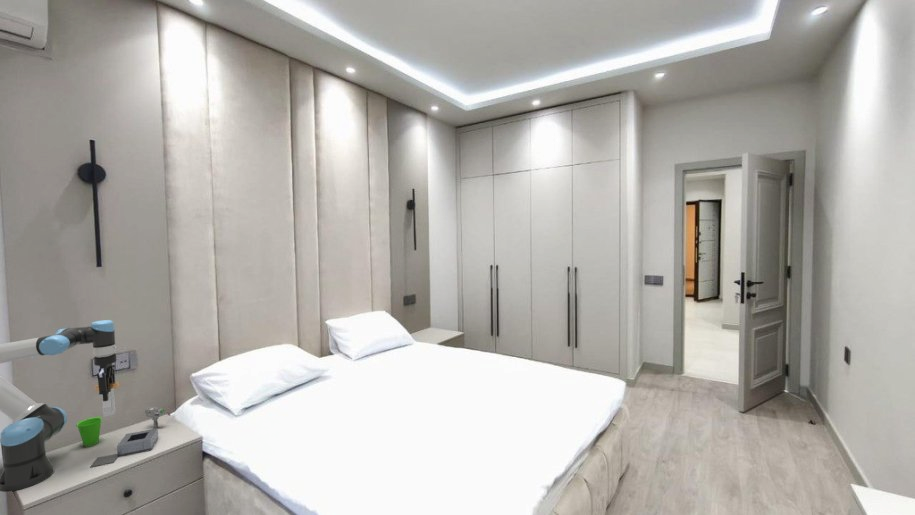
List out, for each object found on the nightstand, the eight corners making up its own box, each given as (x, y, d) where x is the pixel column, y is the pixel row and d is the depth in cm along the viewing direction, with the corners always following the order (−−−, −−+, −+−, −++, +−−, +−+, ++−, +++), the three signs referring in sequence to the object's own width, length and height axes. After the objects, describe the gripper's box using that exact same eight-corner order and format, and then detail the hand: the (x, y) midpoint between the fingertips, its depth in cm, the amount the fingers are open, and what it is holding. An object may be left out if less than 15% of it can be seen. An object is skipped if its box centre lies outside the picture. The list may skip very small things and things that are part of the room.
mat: (89, 467, 168) (89, 466, 168) (97, 458, 175) (97, 457, 175) (113, 462, 171) (113, 461, 171) (120, 453, 178) (120, 452, 178)
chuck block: (117, 457, 175) (116, 446, 175) (126, 444, 186) (126, 434, 186) (151, 450, 180) (150, 439, 180) (158, 438, 191) (157, 428, 191)
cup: (109, 439, 192) (107, 417, 191) (90, 449, 183) (88, 426, 182) (92, 438, 193) (90, 416, 192) (72, 448, 184) (70, 425, 183)
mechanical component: (161, 429, 200) (160, 410, 199) (145, 428, 202) (143, 409, 201) (166, 426, 203) (165, 407, 202) (150, 425, 205) (149, 406, 204)
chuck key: (119, 413, 180) (116, 383, 179) (96, 417, 177) (94, 387, 176) (121, 410, 183) (119, 381, 182) (99, 414, 180) (97, 384, 179)
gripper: (108, 358, 172) (112, 410, 174) (122, 349, 187) (125, 397, 189) (86, 361, 169) (90, 414, 171) (101, 351, 184) (105, 400, 186)
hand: (108, 405), depth 180 cm, fingers closed on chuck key, 3 cm apart
